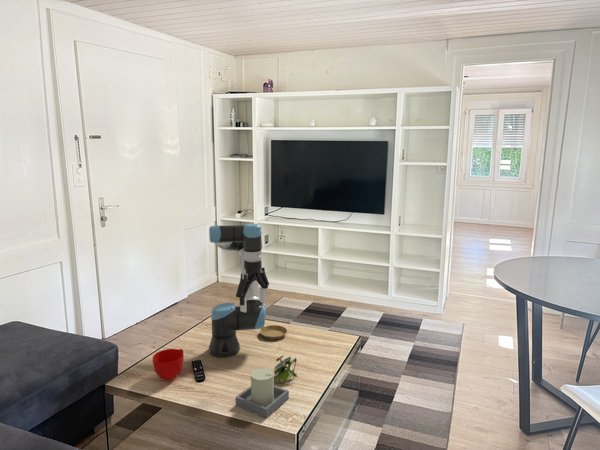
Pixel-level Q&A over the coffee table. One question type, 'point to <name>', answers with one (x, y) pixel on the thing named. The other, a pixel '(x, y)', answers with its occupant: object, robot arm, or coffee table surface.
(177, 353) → the red bowl
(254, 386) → the can
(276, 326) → the plant saucer
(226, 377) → the coffee table surface
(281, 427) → the coffee table surface
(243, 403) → the tray
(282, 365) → the passion flower
